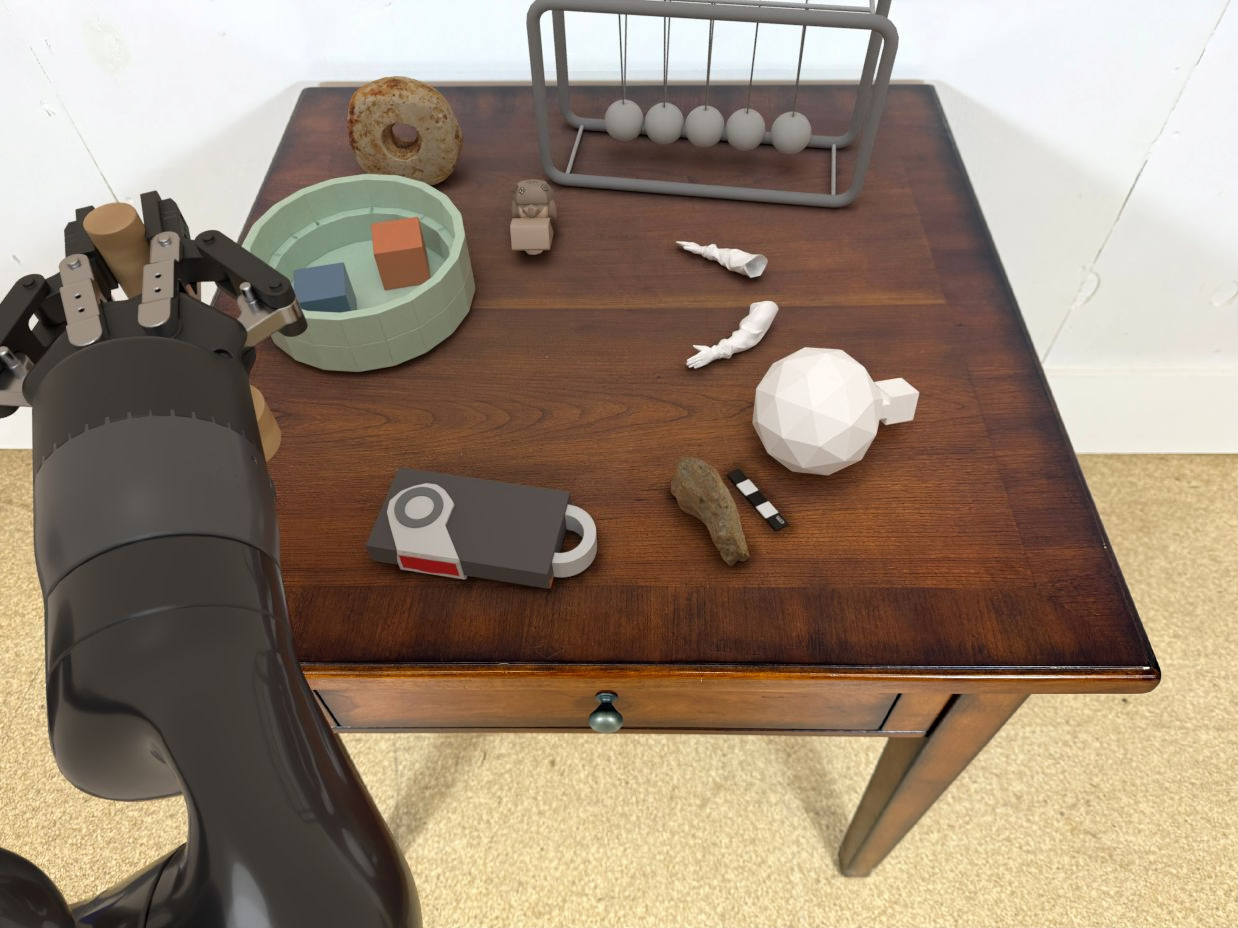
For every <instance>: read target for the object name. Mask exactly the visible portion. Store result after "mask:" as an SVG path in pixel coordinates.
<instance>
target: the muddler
mask: <svg viewBox="0 0 1238 928" xmlns="http://www.w3.org/2000/svg"><path fill="white" fill-rule="evenodd" d="M83 226H84V229H85V231H86V232H87V234H88V235H89V237H90V239H91V240H92V242H93V243H94V245H95V246H96V248H97V250H98V251H99V253H100V254H101V256H102V258H103V259H104V261H105V262H106V264H107V266H108V267H109V269H110V270H111V272H112V274H113V275H114V277H115V278H116V280H117V282H118V284H119V287H120V288H121V290H122V291H123V293H124V294H125V296H126V298H127V299H130V298H132V297H135V296H137V295H139V294H141V293H142V288H143V268H144V264H149V263H150V244H149V242H148V240H147V239H146V235H145V226H144V221H143V220H142V218H141V217H140V215H139V213H138V211H137V209H136V208H135V207H134V206H133V205H131V204H129V203H126V202H120V201H119V202H118V201H117V202H116V201H115V202H109V203H105V204H102V205H99V206H97V207H95V209H94V210H93V211H91V212H90V213H89V214H88V215H87V216H86V217H85V219H84V222H83ZM250 389H251V394H252V399H253V403H254V408H255V413H256V417H257V422H258V427H259V432H260V436H261V441H262V446H263V450H264V455H265V459H266V463H267V462H270V460H271V459H272V458H273V457H274V456H275V454H276V453H277V452H278V450H279V449H280V445H281V442H282V432H281V431H282V430H281V428H280V426H279V424H278V422H277V420H276V418H275V416H274V414H273V413H272V411H271V409H270V406H269V405H268V403H267V401H266V398H264V395H263V394H262V392H261V391H260V390H259V389H258V388H256V387H255V386H253V385H251V384H250Z"/></svg>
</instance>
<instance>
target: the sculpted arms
mask: <svg viewBox="0 0 1238 928" xmlns="http://www.w3.org/2000/svg"><path fill="white" fill-rule="evenodd" d="M675 244H677V245H678V246H680V247H682V248H683V250H685V251H689V252H691V253H693V254H696V255H700V256H702V257H703V258H706V259H707V260H709V261H716V262H717V263H719V264H720V265H721V266H723V267H724V268H727V270H729V272H736V273H737V274H740V275H743V276H747V277H749V279H750V278H751V279H752V278H756V277H759V276H761V275H762V274H763V272H764V270H765V269H766V267H767V264H768V262H769V260H768V258H767V257H766V256H765V255H764V254H762V253H761V254H760V253H759V254H755V253H754V254H752V253H751V252H746V251H743V250H741V249H738V248H728V247H726V248H718V246H717V244H715V243H711V244H709V245H702V246H701V245H700V244H698V243H696V242H693V241H690V242H689V241H679V240H677V241H675ZM749 306H750V307H749V312H748V313H749V314H748V315H747V316H745V317H744V318H742V319H741V320H740V322H739V324H738V325H739V326H738V330H734V331H732V333H731V336H729V337H728V338H722V339H720V341H718V343H717V345H716V344H714V345H713V346H711V347H709V346H707V345H698V344H697V345H696V344H693V345H692V347H693V348H694V349H696V350H697V351H699V352H698V353H697V354H695V355H693V356H691V357H689V358H687V359H686V366H688V368H690V369H691V368H692V367H693V369H698V368H701V367H703V366H706V365H708V364H710V363H711V362H713V361H716V360H721V359H727V360H729V359H731V358H732V356H733V354H735V353H740V352H744V351H748V350H749V349H751V348H753V347H755V346H756V345H757V344H758V343H760V342H761V340H762V338H764V336H765V334H766V333H767V332H768V330H769V329H770V327H771V326H772V323H773V321H774V319H775V317H776V316H777V314H778V312H779V307H778V305H777V304H776V303H775V302H774V301H771V300H764V301H758V302H753V303H751V304H750V305H749Z"/></svg>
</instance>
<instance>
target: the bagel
mask: <svg viewBox="0 0 1238 928" xmlns="http://www.w3.org/2000/svg"><path fill="white" fill-rule="evenodd" d="M346 112H347V113H346V116H347V120H346V122H347V127H346V128H347V135H348V145H349V146H350V147H351V150H352V153H353V155H354V158H355V160H356V162H357V164H358V165H359V166H360V168H361V169H362V170H364V172H365V173H366V174H379V175H398V176H402V177H406V178H409V179H413V180H417V181H421V182H424V183H426V184H428V185H430V186H435V185H437V184H440V183H441V182H444V181H445V180H446V179H447V178H449V176H450V175H451V174H453V172H454V170H455V168H456V166H457V165H458V163H459V160H460V158H461V155H462V151H463V147H464V134H463V131H462V129H461V126H460V124H459V121H458V120H457V118H456V116H455V113H454V111H453V109H452V107H451V105H450V104H449V102H448V100H447V99H446V98H445V97H444V95H443V94H442V93H440V91H439V90H438V89H436V88H434V87H433V86H431V85H430V84H428V83H426V82H423V81H421V80H418V79H415V78H411V77H409V76H404V75H403V76H401V75H400V76H399V75H393V76H385V77H380V78H379V79H374V80H372V81H370V82H368V83H365V84H364V85H362V86H360V87H359V88H358V89H356V91H355V92H354V93H353V95H352V96H351V98H350V101H349V103H348V106H347V111H346ZM396 124H403V125H407V126H410V127H411V128H412V129H414V130H415V132H416V137H415V138H414V139H412V140H405V139H402V138H400V137H399V136H397V135H396V134H395V132H394V130H393V127H394V126H395V125H396Z"/></svg>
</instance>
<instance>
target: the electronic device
mask: <svg viewBox="0 0 1238 928" xmlns="http://www.w3.org/2000/svg"><path fill="white" fill-rule="evenodd" d="M396 471H397V472H396V473H395V476H394V477H393V481H392V482H391V484H390V487H389V490H388V492H387V494H386V497H385V498H384V499H385V500H384V502H383V503H382V506H381V509H380V510H379V513H378V515H377V518H376V520H375V522H374V525H373V527H372V530H371V531H370V534H369V536H368V538H367V540H366V543H365V548H366V550H367V552H368V554H369V556H370V559H371V561H374V562H380V563H385V564H391V565H398V566H399V569H400V570H402V571H410V572H415V573H421V574H427V575H434V576H440V577H446V578H452V579H459V580H467V578H468V577H472V578H473V577H474V578H479V579H485V580H492V581H498V582H504V583H511V584H515V585H516V584H517V585H523V586H529V587H535V588H542V589H548V590H549V589H551V588H552V586H553V585H552V584H553V582H554V578H568V577H572V576H576V575H578V574H581V573H582V572H584V571H585V570H587V568H588V567H590V566H591V564H592V563H593V562H594V560H595V559H596V555H597V551H598V539H597V527H596V524H595V521H594V519H593V518H592V516H591V515H590V514H589V513H588V512H587V511H585V510H584V509H583V508H581V507H579V506H576V505H573V504H572V499H571V492H570V491H569V490H561V489H556V488H555V489H554V488H547V487H546V488H545V487H541V486H534V485H526V484H519V483H513V482H505V481H499V480H492V479H484V478H480V477H479V478H477V477H471V476H463V475H457V474H452V473H451V474H450V473H444V472H437V471H430V470H424V469H423V470H422V469H416V468H410V467H404V466H398V469H397V470H396ZM567 530H568V531H572V532H574V533H576V534H577V535H579V536H580V537H581V538H582V539H581V541H580V543H579V544H578V545H577V546H576V547H575V548H573V549H571V550H568V551H565V552H561V551H562V547H563V544H564V540H565V537H566V533H567Z"/></svg>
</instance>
